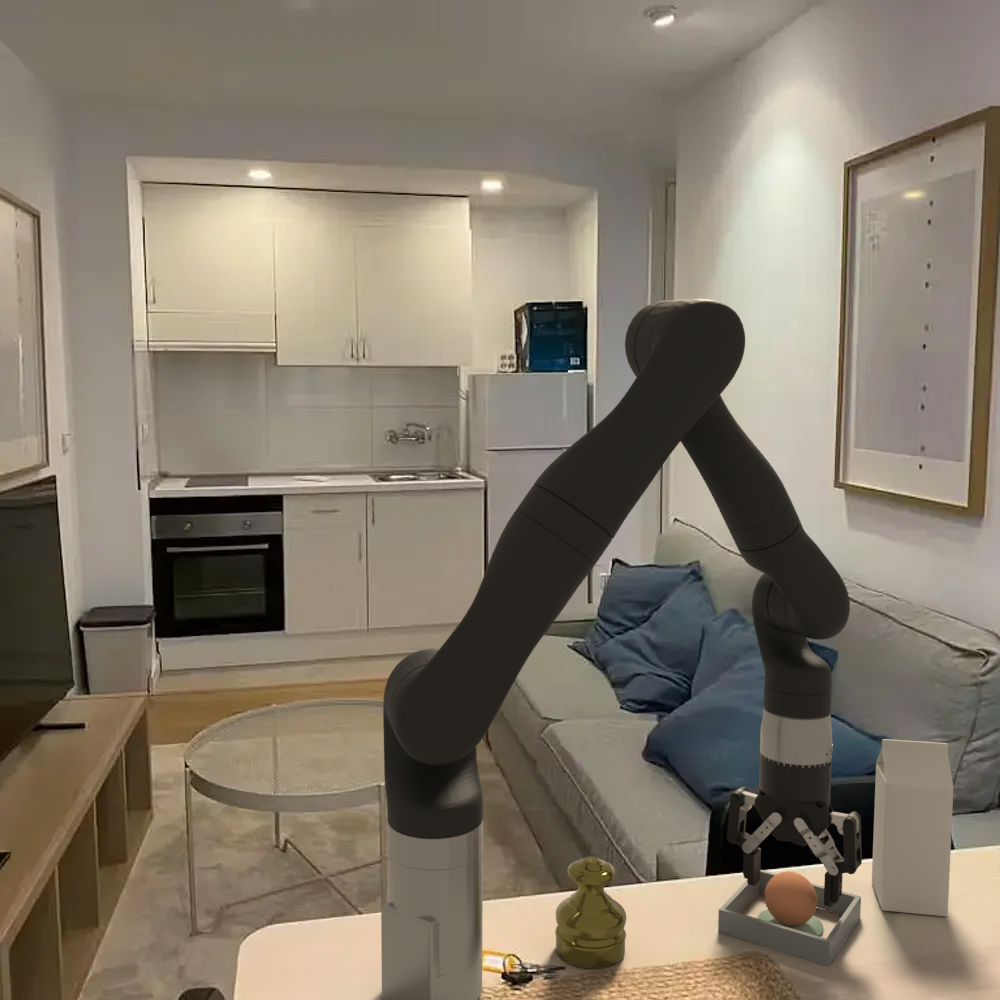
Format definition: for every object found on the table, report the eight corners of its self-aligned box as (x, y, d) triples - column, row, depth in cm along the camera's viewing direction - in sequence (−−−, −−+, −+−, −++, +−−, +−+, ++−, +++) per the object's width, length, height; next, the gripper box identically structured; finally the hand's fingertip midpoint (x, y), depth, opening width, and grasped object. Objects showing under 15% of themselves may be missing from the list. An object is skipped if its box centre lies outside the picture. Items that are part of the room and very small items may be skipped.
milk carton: (947, 918, 114) (955, 753, 112) (881, 911, 115) (887, 749, 113) (934, 889, 121) (940, 733, 119) (871, 883, 122) (877, 729, 120)
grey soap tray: (828, 965, 104) (829, 942, 103) (718, 931, 110) (718, 909, 110) (860, 917, 114) (861, 896, 113) (756, 889, 120) (757, 868, 120)
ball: (827, 928, 111) (829, 879, 110) (787, 940, 108) (789, 889, 108) (792, 906, 116) (793, 859, 115) (753, 916, 113) (754, 868, 113)
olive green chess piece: (639, 951, 106) (641, 859, 106) (595, 979, 101) (597, 883, 100) (585, 926, 112) (586, 838, 111) (540, 951, 106) (541, 860, 105)
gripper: (720, 747, 111) (717, 889, 113) (852, 774, 103) (847, 926, 105) (745, 730, 117) (741, 864, 119) (871, 753, 109) (866, 897, 111)
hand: (791, 893), depth 112 cm, fingers open, 8 cm apart
